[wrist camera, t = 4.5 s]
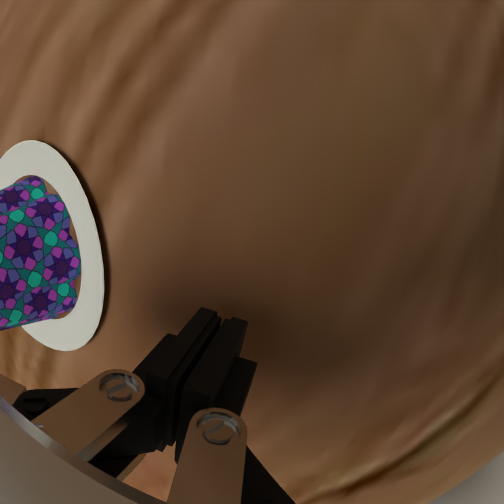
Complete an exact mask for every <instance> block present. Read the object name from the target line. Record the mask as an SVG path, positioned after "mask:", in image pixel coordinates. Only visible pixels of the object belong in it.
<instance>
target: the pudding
mask: <svg viewBox="0 0 504 504" xmlns="http://www.w3.org/2000/svg"><path fill="white" fill-rule="evenodd" d="M26 175H37V176H39V177H41V178H44V179H45V180H46V181H47V182H49V183H50V184H51V185H52V186H53V187H54V188H55V190H56V191H57V192H58V193H59V195H60V196H61V198H62V200H63V201H64V202H63V201H62V200H61V199H60V197H59V196H58V195H57V194H48V192H47V189H46V187H45V184H44V181H43V180H42V179H40V178H39V177H37V176H33V177H28V178H26V179H24V180H21V181H19V182H16V183H14V182H15V181H16V180H18V179H19V178H21V177H22V176H26ZM13 183H14V184H13ZM64 203H65V204H64ZM65 205H66V206H65ZM66 207H67V209H68V212H69V214H70V216H71V219H72V222H73V225H74V228H75V230H76V235H77V239H78V243H79V248H80V254H79V250H78V245H77V244H76V243H75V241H74V240H73V238H72V237H71V236H70V234H69V218H70V217H69V215H68V212H67V209H66ZM80 255H81V259H80ZM80 267H81V268H82V278H81V289H80V293H79V298H78V300H77V303H76V305H75V302H76V298H77V295H76V290H75V286H74V281H75V279H76V278H77V277H78V276H79V275H80ZM103 298H104V268H103V261H102V254H101V246H100V242H99V237H98V233H97V229H96V224H95V220H94V217H93V215H92V212H91V209H90V206H89V203H88V200H87V197H86V195H85V193H84V191H83V189H82V187H81V184H80V182H79V180H78V178H77V176H76V175H75V173H74V172H73V170H72V169H71V167H70V166H69V164H68V162H67V161H66V160H65V159H64V158H63V157H62V156H61V155H60V154H59V153H58V152H57V151H56V150H55V149H53V148H52V147H50V146H49V145H47V144H46V143H43V142H39V141H36V140H30V141H23V142H21V143H18V144H16V145H14V146H13V147H12V148H10V149H9V150H8V151H7V152H6V153H5V154H4V155H3V157H2V158H1V159H0V331H1V330H5V329H10V328H14V327H18V326H22V327H23V328H24V329H25V331H26V332H28V333H29V334H30V335H31V336H32V337H33V338H35V339H36V340H37V341H39V342H41V343H42V344H44V345H45V346H48V347H50V348H53V349H55V350H61V351H70V350H76V349H78V348H80V347H82V346H84V345H85V344H86V343H87V342H88V341H89V340H90V339H91V338H92V336H93V334H94V332H95V331H96V329H97V327H98V324H99V320H100V317H101V313H102V309H103ZM74 305H75V307H74ZM73 307H74V309H73V310H72V311H71V313H70V314H68V315H67V316H66V317H64V318H61V319H52V318H56V317H57V316H58V314H59V313H64V312H68V311H69V310H71V309H72V308H73Z"/></svg>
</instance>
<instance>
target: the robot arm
mask: <svg viewBox="0 0 504 504" xmlns="http://www.w3.org/2000/svg"><path fill="white" fill-rule="evenodd" d="M220 324H221V317H218V316H217V312H216V311H213V310H210V309H207V308H204V307H201V308H200V309H199V310H198V312H197V313H196V314H195V315H194V316H193V317H192V319H191V320H190V321H189V322H188V323H187V324H186V326H185V327H184V328H183V329H182V330H181V331H180V333H179V334H178V335H177V336H176V335H173V334H170V333H169V334H167V335H166V336H165V337H164V338H163V339H162V340H161V341H160V342H159V343H158V344H157V345H156V347H155V348H154V349H153V350H152V351H151V352H150V353H149V354H148V355H147V356H146V358H145V359H144V360H143V361H142V362H141V363H140V364H139V365H138V366H137V367H136V368H135V370H134V371H133V372H132V373H131V372H129V371H126V370H122V369H112V370H107V371H104V372H102V373H100V374H99V375H97V376H96V377H95V378H93V379H92V380H90V381H89V382H87V383H86V384H84V385H83V386H82V387H80V388H66V389H34V390H28V391H27V390H26V387H25V386H23V385H21V384H19V383H17V382H15V381H13V380H11V379H9V378H8V377H6V376H4V375H2V374H0V504H295V502H294V501H293V500H292V499H291V498H290V497H289V496H288V495H287V493H286V492H285V491H284V490H283V489H282V488H281V487H280V486H279V484H278V483H277V482H276V481H275V480H274V479H273V477H272V476H271V475H270V474H269V473H268V471H267V470H266V469H265V468H264V467H263V465H262V464H261V463H260V462H259V460H258V459H257V458H256V457H255V456H254V454H253V453H252V452H251V450H250V449H249V448H248V447H247V445H246V443H247V427H246V425H245V423H244V421H243V420H242V419H241V418H240V415H241V412H242V410H243V407H244V404H245V401H246V398H247V395H248V392H249V389H250V386H251V383H252V380H253V376H254V373H255V370H256V367H257V362H253V361H250V360H247V359H243V358H240V357H239V355H240V351H241V348H242V344H243V340H244V336H245V332H246V328H247V324H248V321H245V320H242V319H238V318H235V317H232V318H231V320H228V319H225V320H224V322H223V323H222V325H221V327H220ZM175 441H176V448H175V462H176V463H177V468H176V472H175V475H174V479H173V482H172V485H171V489H170V492H169V496H168V499H167V502H164V501H162V500H159V499H157V498H155V497H153V496H150V495H148V494H146V493H144V492H141V491H139V490H137V489H135V488H133V487H131V486H129V485H127V484H125V483H123V482H122V481H123V480H124V479H125V478H126V477H127V476H128V475H129V474H130V473H131V472H132V471H133V470H134V469H135V468H136V467H137V465H138V464H139V463H140V462H141V461H142V460H143V459H144V457H145V455H146V453H149V452H154V451H155V450H156V449H157V450H159V451H161V452H163V450H164V449H165V447H166V445H169V446H173V444H174V443H175Z"/></svg>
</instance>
